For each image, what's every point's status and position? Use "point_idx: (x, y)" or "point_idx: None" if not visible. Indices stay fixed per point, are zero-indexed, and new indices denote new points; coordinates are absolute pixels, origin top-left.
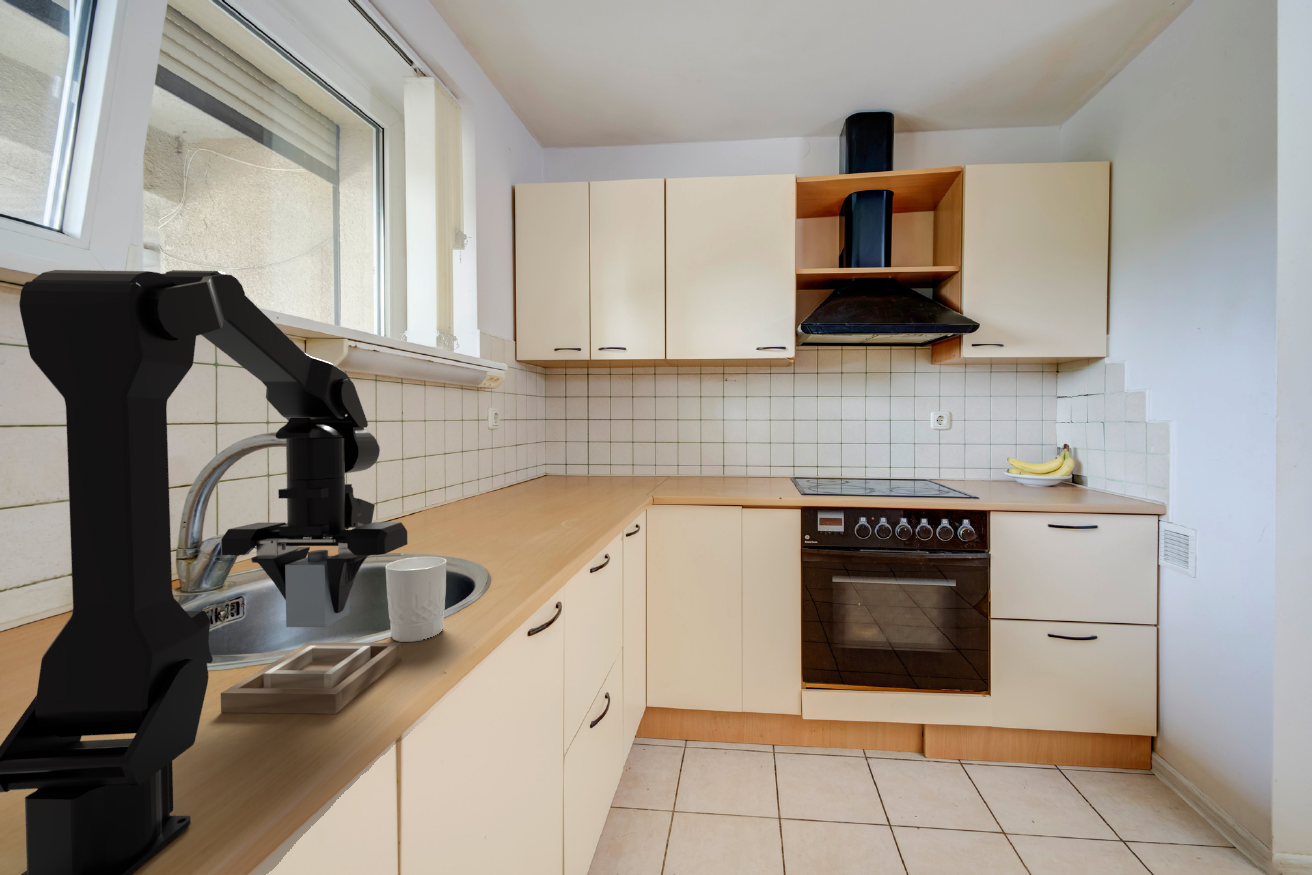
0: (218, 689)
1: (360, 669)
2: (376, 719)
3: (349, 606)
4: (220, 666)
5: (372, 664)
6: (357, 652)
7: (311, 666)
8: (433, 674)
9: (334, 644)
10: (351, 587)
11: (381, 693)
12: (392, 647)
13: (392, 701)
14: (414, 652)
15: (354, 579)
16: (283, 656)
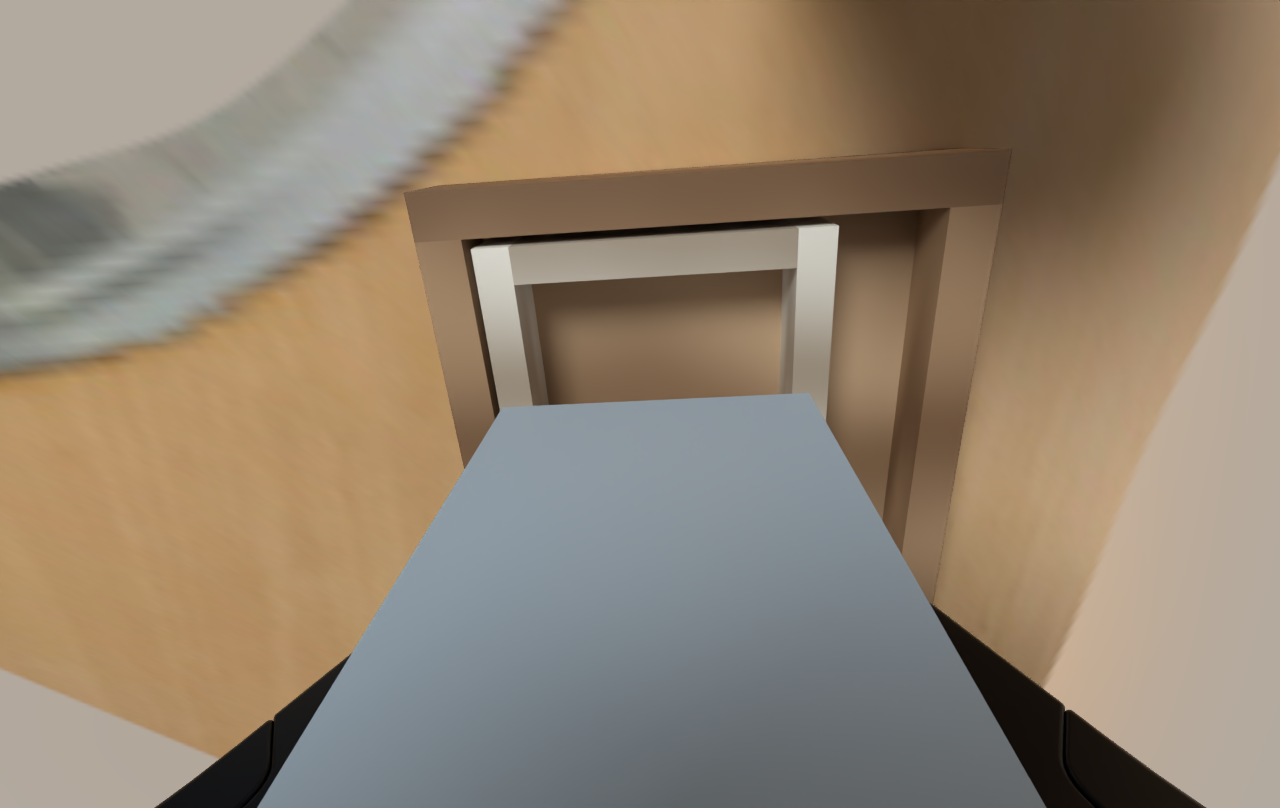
0: (349, 487)
1: (922, 482)
2: (1048, 618)
3: (824, 421)
4: (117, 309)
5: (956, 433)
6: (810, 319)
7: (572, 326)
8: (1189, 312)
9: (594, 210)
10: (1000, 660)
11: (1000, 479)
12: (982, 226)
13: (1065, 526)
14: (1013, 41)
15: (1099, 738)
16: (447, 383)
